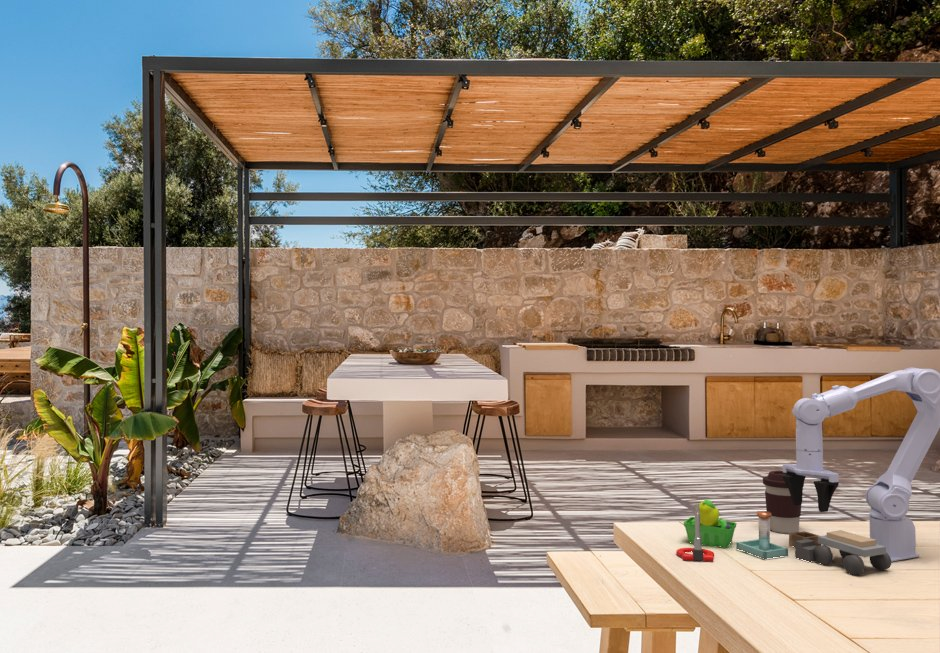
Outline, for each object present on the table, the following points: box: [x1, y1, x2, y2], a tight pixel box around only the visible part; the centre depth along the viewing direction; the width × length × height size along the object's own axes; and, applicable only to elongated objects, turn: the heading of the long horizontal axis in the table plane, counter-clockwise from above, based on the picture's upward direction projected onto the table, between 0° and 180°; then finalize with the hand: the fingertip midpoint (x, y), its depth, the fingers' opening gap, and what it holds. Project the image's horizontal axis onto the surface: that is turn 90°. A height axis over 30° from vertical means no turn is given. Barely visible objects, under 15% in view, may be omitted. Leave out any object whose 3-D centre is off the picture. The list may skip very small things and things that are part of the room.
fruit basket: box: [682, 499, 738, 548], centre depth 185 cm, size 11×9×11 cm
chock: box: [794, 539, 816, 563], centre depth 171 cm, size 4×4×4 cm
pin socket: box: [788, 530, 822, 548], centre depth 181 cm, size 5×5×3 cm
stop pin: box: [756, 510, 771, 551], centre depth 177 cm, size 3×3×9 cm
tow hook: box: [675, 503, 715, 562], centre depth 175 cm, size 8×13×9 cm
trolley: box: [813, 529, 892, 576], centre depth 166 cm, size 12×10×7 cm
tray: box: [735, 538, 789, 559], centre depth 176 cm, size 7×9×2 cm
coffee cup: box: [762, 470, 805, 534], centre depth 197 cm, size 10×10×15 cm
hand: (810, 508), depth 177 cm, fingers open, 7 cm apart
